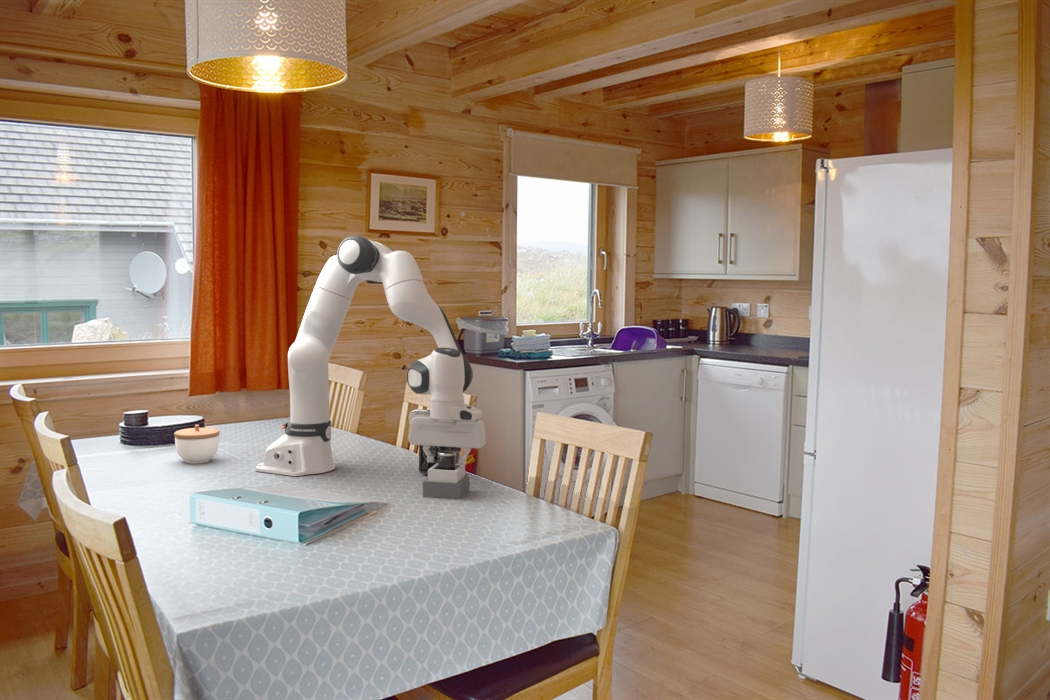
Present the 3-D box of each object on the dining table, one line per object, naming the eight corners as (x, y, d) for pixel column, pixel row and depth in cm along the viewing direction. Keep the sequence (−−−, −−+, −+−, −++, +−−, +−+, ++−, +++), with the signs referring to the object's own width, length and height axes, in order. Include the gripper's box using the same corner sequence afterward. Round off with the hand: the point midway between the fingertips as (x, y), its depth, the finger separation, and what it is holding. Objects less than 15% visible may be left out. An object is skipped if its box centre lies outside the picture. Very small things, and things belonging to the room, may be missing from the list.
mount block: (422, 496, 206) (422, 470, 205) (433, 488, 215) (433, 462, 214) (460, 499, 204) (460, 472, 204) (469, 490, 213) (469, 464, 212)
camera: (452, 478, 225) (453, 426, 224) (417, 476, 228) (417, 424, 226) (462, 470, 236) (463, 420, 234) (428, 468, 238) (429, 418, 236)
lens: (435, 479, 208) (435, 453, 207) (440, 475, 212) (440, 449, 212) (452, 480, 207) (452, 454, 206) (457, 476, 211) (457, 450, 211)
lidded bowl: (165, 463, 238) (164, 426, 237) (197, 455, 250) (196, 420, 249) (198, 467, 233) (197, 430, 232) (229, 459, 245) (228, 423, 244)
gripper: (404, 410, 207) (404, 463, 208) (481, 414, 203) (481, 468, 204) (412, 406, 213) (412, 458, 214) (487, 410, 209) (486, 462, 210)
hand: (446, 463), depth 209 cm, fingers open, 7 cm apart
